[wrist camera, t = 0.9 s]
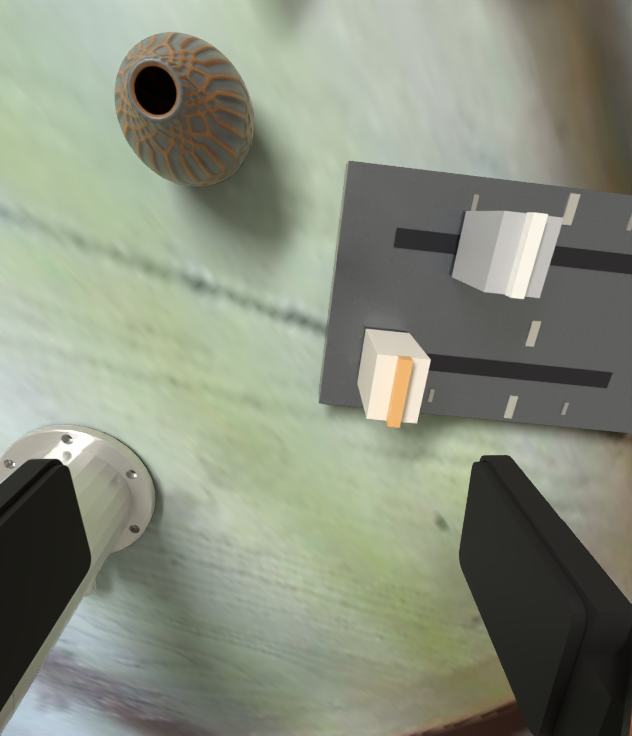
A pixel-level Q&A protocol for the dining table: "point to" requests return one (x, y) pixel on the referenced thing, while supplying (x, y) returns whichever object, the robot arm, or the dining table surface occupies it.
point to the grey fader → (506, 251)
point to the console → (485, 300)
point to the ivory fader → (392, 376)
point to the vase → (184, 109)
